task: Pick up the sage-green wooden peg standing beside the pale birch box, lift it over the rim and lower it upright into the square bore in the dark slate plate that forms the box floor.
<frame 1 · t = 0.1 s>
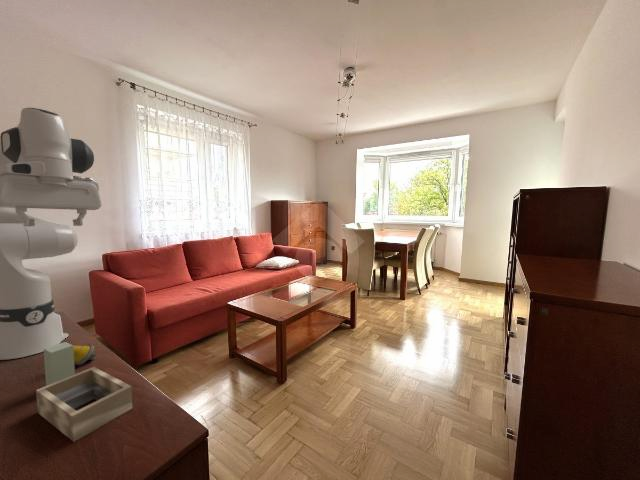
hand: (55, 226, 70), 39 cm above the table, fingers open, 8 cm apart
peg: (61, 386, 65), on the table
drill bit: (80, 365, 75), on the table
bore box: (85, 410, 57), on the table
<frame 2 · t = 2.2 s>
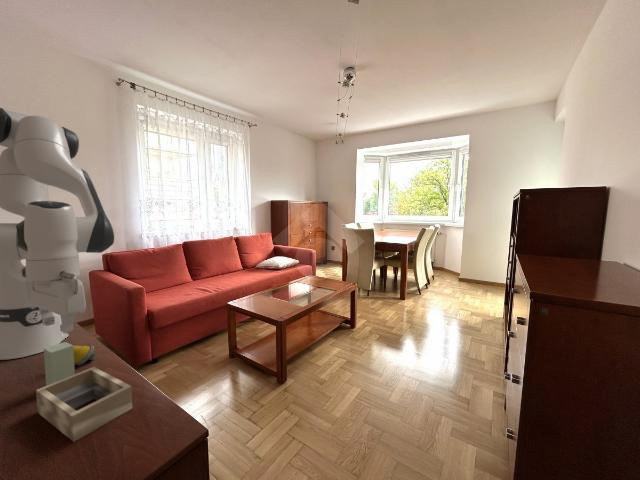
hand: (57, 328, 63), 15 cm above the table, fingers open, 8 cm apart
nothing on the table moved.
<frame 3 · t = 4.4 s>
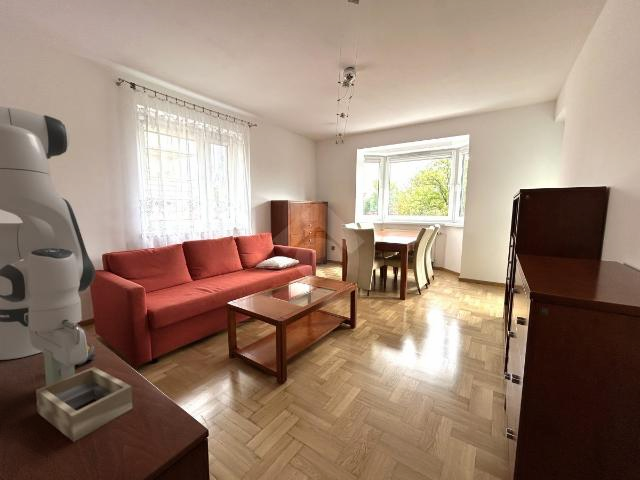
hand: (60, 372, 64), 4 cm above the table, fingers closed on peg, 4 cm apart
peg: (61, 386, 65), on the table, touching gripper
everything else where it was.
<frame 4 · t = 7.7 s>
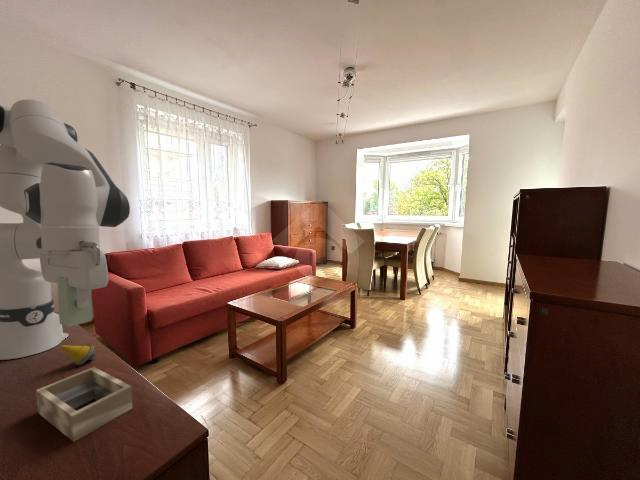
hand: (75, 305, 57), 22 cm above the table, fingers closed on peg, 4 cm apart
peg: (76, 322, 57), point 19 cm above the table, touching gripper
everything else where it was.
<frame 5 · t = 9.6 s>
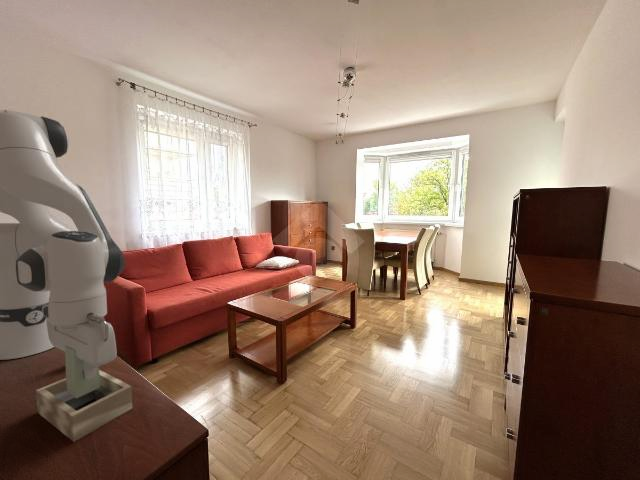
hand: (83, 373, 56), 8 cm above the table, fingers closed on peg, 4 cm apart
peg: (83, 389, 56), point 5 cm above the table, touching gripper
everything else where it was.
when the fingers open (5 cm above the table, at t = 11.1 s): peg drops 1 cm, resting in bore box.
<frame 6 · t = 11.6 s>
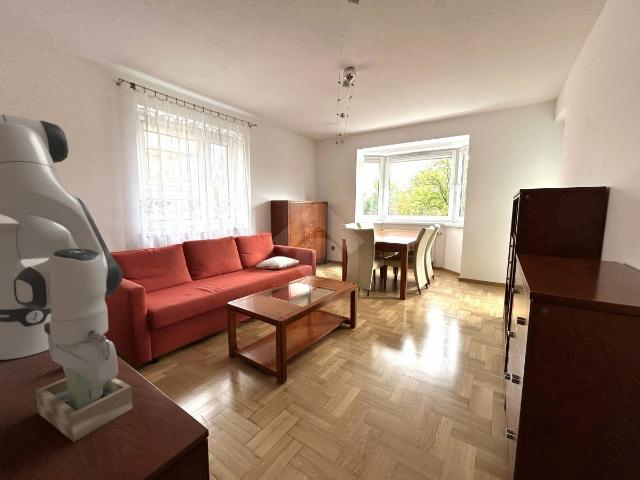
hand: (84, 389, 57), 5 cm above the table, fingers open, 8 cm apart
peg: (85, 410, 57), resting in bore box
everything else where it was.
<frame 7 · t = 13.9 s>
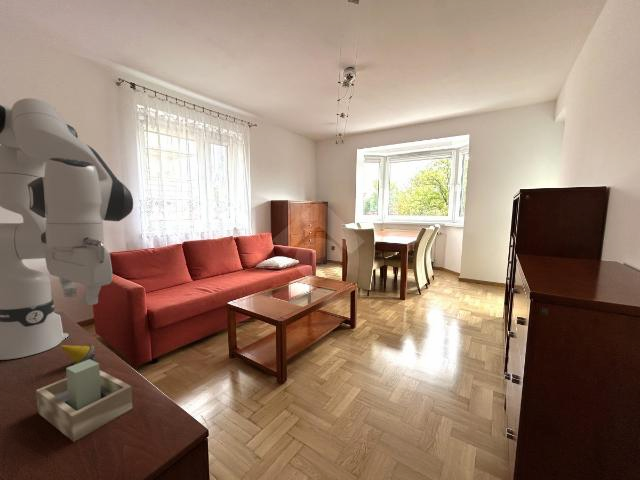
hand: (80, 300, 58), 23 cm above the table, fingers open, 8 cm apart
nothing on the table moved.
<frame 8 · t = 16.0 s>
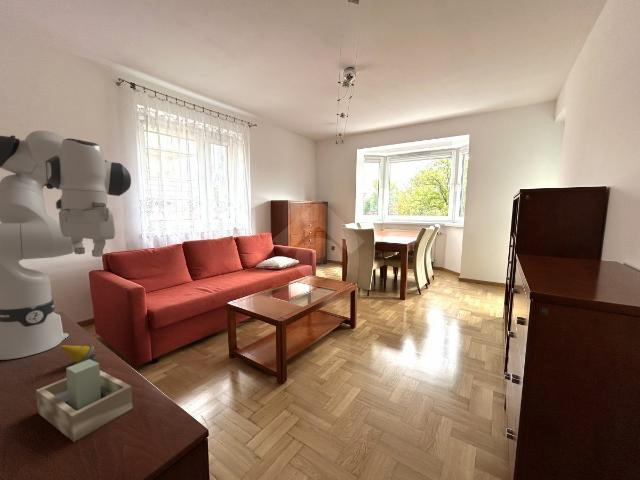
hand: (88, 255, 71), 31 cm above the table, fingers open, 8 cm apart
nothing on the table moved.
at the end: peg 0.1 cm off-centre on the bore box, point 0.0 cm above the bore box's base; peg tilted 0°; the gripper is holding nothing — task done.
